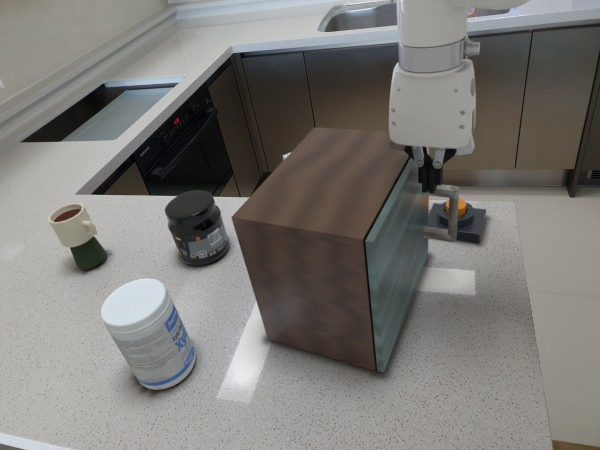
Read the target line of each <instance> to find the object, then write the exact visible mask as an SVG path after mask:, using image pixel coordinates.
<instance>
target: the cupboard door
mask: <svg viewBox="0 0 600 450" xmlns="http://www.w3.org/2000/svg"><path fill="white" fill-rule="evenodd" d="M428 152H429V153H430V147H428ZM431 196H432V197H439V198H446V199H447V198H448V200H449V215H448V230H447V229H440V228H433V227H428V220H429V213H430V210H429V209H430V203H429V202H430V197H431ZM459 199H460V186H458V185H452V184H451V185H450V184H443V183H442V184H441V186H439V185H437V188H436V190H435V192H434V194H432V193H430V192H426V193H423V192H422V184H420V183H418V167H417V166H416V165H415V162H414V160H413V159H412V158H410V160H409V161H408V163H407V165H406V167H405V169H404V171H403V172H402V174H401V176H400V178H399V180H398V182H397V183H396V185H395V187H394V189H393V191H392V193H391V195H390V196H389V198H388V200H387V202H386V204H385V206H384V207H383V209H382V211H381V213H380V215H379V217H378V218H377V220H376V222H375V224H374V226H373V228H372V229H371V231H370V233H369V235H368V237H367V239H366V240H365V243H366V254H367V264H368V275H369V286H370V297H371V308H372V319H373V329H374V340H375V351H376V362H377V369H376V371H377V372H378V373H382V374H384V373H385V371H386V369H387V366H388V363H389V361H390V358H391V355H392V353H393V350H394V348H395V345H396V342H397V340H398V337H399V335H400V331H401V329H402V327H403V324H404V321H405V318H406V315H407V313H408V310H409V308H410V305H411V302H412V299H413V298H414V294H415V291H416V289H417V286H418V283H419V281H420V278H421V276H422V273H423V270H424V267H425V265H426V262H427V260H428V257H429V239H430V240H434V241H435V240H436V241H442V242H449V243H455V242H456V241H457V240H456V239H457V222H458V204H459Z"/></svg>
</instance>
